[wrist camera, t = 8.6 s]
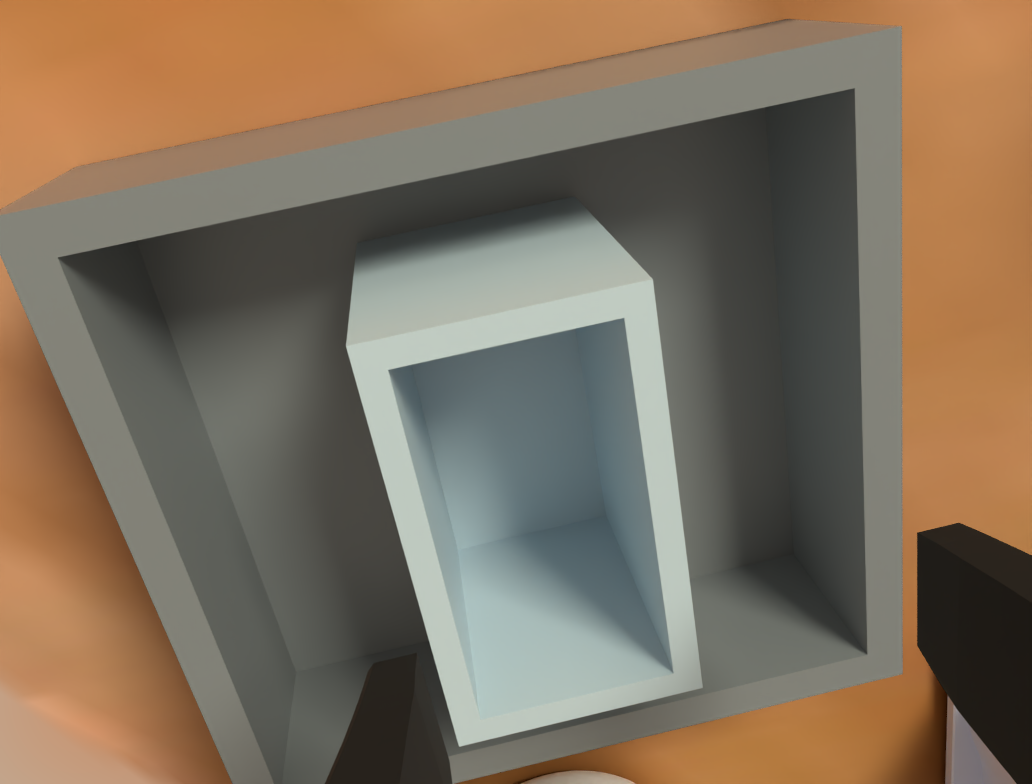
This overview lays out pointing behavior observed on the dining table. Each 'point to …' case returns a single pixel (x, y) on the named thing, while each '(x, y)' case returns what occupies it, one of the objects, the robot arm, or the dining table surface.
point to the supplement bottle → (579, 778)
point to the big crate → (338, 407)
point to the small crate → (528, 463)
